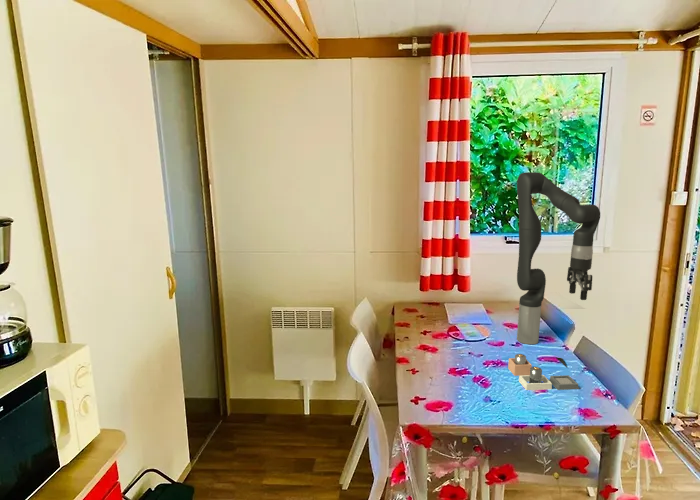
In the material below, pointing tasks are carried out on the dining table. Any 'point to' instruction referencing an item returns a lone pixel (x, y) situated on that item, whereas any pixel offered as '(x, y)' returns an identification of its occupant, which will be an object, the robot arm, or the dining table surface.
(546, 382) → the trough
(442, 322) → the dining table surface
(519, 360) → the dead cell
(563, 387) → the grey square pedestal
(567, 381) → the plate
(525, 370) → the tan open box
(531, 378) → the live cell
